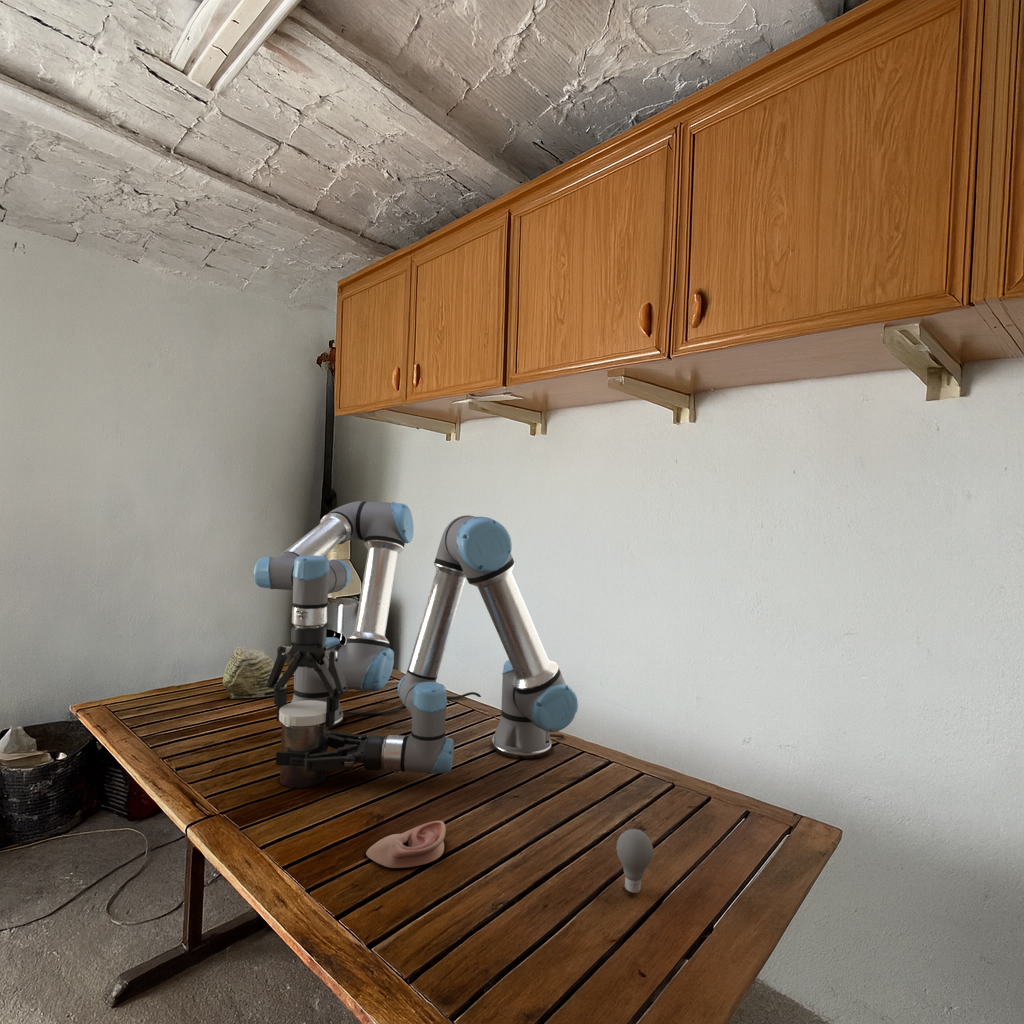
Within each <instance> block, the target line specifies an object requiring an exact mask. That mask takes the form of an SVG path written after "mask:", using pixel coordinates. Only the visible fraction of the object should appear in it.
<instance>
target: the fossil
mask: <svg viewBox="0 0 1024 1024" xmlns="http://www.w3.org/2000/svg"><path fill="white" fill-rule="evenodd" d="M274 663H275V660H273V659H272V658H271V657H270V656H269V655H268V654H267V653H266V652H265V650H264V649H263V648H260V647H258V648H251V647H247V646H246V647H245V646H238V647H237V648H236V649H235V650H233V651H232V653H231V656H230V657H229V659H228V660H227V663H226V666H225V668H224V671H223V675H222V676H223V677H222V685H223V687H224V688H225V690H226V691H228V693H229V698H230V699H250V698H264V697H271V696H274V690H273V689H272V688H268V687H267V686H266V684H267V681H268V679H269V676H270V674H271V671H272V669H273V666H274ZM282 675H283V673H282V672H281V674H280V677H279V679H280V678H281V676H282ZM279 679H278V681H279ZM287 687H288V686H287V684H286V685H285V686H284V688H283V689H287Z"/></svg>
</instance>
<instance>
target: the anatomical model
mask: <svg viewBox="0 0 1024 1024" xmlns="http://www.w3.org/2000/svg"><path fill="white" fill-rule="evenodd" d="M446 830H447V829H446V824H445V822H444V821H443V820H434V821H429V822H426V823H423V824H420V825H417V826H416V827H413V828H411V829H408V830H406V831H404V832H402V833H394V834H389V835H387V836H384V837H383V838H381V839H379V840H378V841H376V842H375V843H374V844H372V845H371V846H370V847H369V848H367V850H366V851H365V854H366V855H365V856H367V858H369V860H370V861H371V860H372V861H373V862H375V863H377V864H378V865H381V866H383V867H385V868H390V869H403V868H412V867H418V866H422V865H426V864H429V863H431V862H434V861H436V860H438V859H439V858H440V857H442V856H443V854H444V851H445V842H444V839H445V837H446V833H447V832H446Z"/></svg>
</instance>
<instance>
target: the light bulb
mask: <svg viewBox="0 0 1024 1024" xmlns="http://www.w3.org/2000/svg"><path fill="white" fill-rule="evenodd" d="M615 849H616V854H617V857H618V859H619V861H620V863H621V865H622V867H623V873H624V874H623V875H624V876H625V878H624V888H625V890H627V891H628V892H630V893H634V894H635V893H639V892H640V891H641V889H642V887H641V886H642V879H643V877H644V875H645V871H646V868H647V867H648V866H649V864H650V863H651V861H652V859H653V855H654V847H653V843H652V841H651V838H649V836H648V835H647V834H646V833H645V832H643V831H642V830H641V829H636V828H629V829H627V830H625V831H623V832H622V833H621V834H620V835H619V837H618V839H617V841H616V847H615Z"/></svg>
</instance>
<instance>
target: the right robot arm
mask: <svg viewBox="0 0 1024 1024" xmlns="http://www.w3.org/2000/svg"><path fill="white" fill-rule="evenodd" d="M512 549H513V543H512V538H511V535H510V533H509V531H508V530H507V528H506V527H505V526H504V525H503V524H502V523H500V522H499V521H497V520H495V519H493V518H492V517H488V516H474V515H468V514H467V515H461V516H458V517H456V518H454V519H452V520H451V521H450V522H449V523H447V526H446V527H445V528H444V530H443V532H442V535H441V538H440V541H439V544H438V548H437V551H436V555H435V559H434V561H433V565H434V568H435V570H436V571H435V573H434V578H433V580H432V583H431V587H430V591H429V594H428V597H427V601H426V605H425V608H424V611H423V615H422V618H421V622H420V625H419V628H418V632H417V636H416V639H415V643H414V645H413V649H412V652H411V656H410V660H409V663H408V666H407V670H406V673H405V675H404V676H403V677H401V679H400V680H399V682H398V684H397V694H398V698H399V700H400V702H401V703H402V705H403V704H404V705H405V708H406V709H407V711H408V713H409V715H410V716H411V732H410V733H411V735H398V734H397V735H396V734H388V735H387V736H386V735H385V734H369V735H367V734H355V733H350V732H344V731H339V730H332V729H329V730H328V748H331V749H333V750H328V752H322V753H316V754H310V755H309V752H308V751H307V752H285V751H281V750H276V752H275V766H280V765H288V766H305V771H306V772H313V771H327V772H328V771H339V770H340V771H341V770H342V771H343V770H344V771H353V769H354V764H355V765H356V764H363V768H364V769H365V770H366V771H378V772H380V771H381V770H383V771H385V772H394V773H395V774H398V773H399V772H400V773H401V772H404V773H405V772H406V773H419V774H420V773H421V774H430V775H433V774H434V775H435V774H448V773H450V772H451V770H452V768H453V765H454V755H455V741H454V739H453V738H452V737H447V736H446V718H447V705H448V699H447V697H448V696H447V688H446V686H445V685H444V684H443V683H440V682H437V679H438V675H439V672H440V669H441V665H442V662H443V658H444V655H445V651H446V648H447V645H448V641H449V637H450V634H451V631H452V628H453V624H454V621H455V617H456V615H457V614H456V613H457V610H458V607H459V603H460V600H461V597H462V593H463V591H464V586H465V583H466V580H467V583H468V584H469V585H471V586H474V587H476V588H477V589H478V591H479V594H480V596H481V599H482V601H483V603H484V605H485V608H486V610H487V612H488V614H489V617H490V619H491V621H492V624H493V626H494V629H495V631H496V633H497V635H498V638H499V640H500V642H501V644H502V646H503V650H504V652H505V654H506V655H507V658H508V660H506V661H505V662H504V663H503V668H502V673H501V675H502V681H501V682H502V683H501V685H502V686H501V710H500V719H499V721H498V724H497V727H496V730H495V732H494V735H492V739H491V740H492V741H491V742H492V747H493V748H492V749H493V750H494V751H495V752H496V753H498V754H499V755H502V756H505V757H508V758H512V759H520V760H531V759H539V758H543V757H545V756H547V755H549V754H550V753H551V751H552V739H551V738H564V737H565V735H564V734H555V733H556V732H559V731H562V730H564V729H566V728H567V727H569V726H570V724H571V723H572V722H573V720H574V719H575V717H576V714H577V713H578V709H579V699H578V695H577V693H576V692H575V690H574V689H573V687H571V686H570V685H569V684H567V683H566V681H565V679H564V676H563V673H562V672H561V669H560V667H559V664H558V663H557V662H556V661H553V660H550V659H549V658H548V655H547V653H546V650H545V648H544V645H543V643H542V641H541V639H540V636H539V634H538V631H537V629H536V627H535V624H534V621H533V620H532V616H531V615H530V612H529V610H528V607H527V605H526V603H525V601H524V598H523V596H522V594H521V591H520V589H519V586H518V585H517V581H516V579H515V577H514V575H513V569H514V568H515V565H516V563H515V560H514V558H513V555H512Z"/></svg>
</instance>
